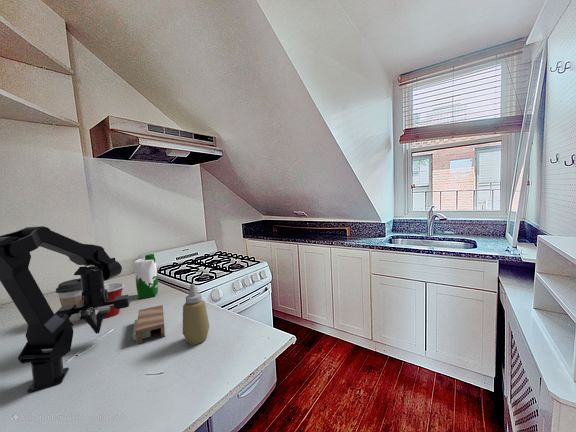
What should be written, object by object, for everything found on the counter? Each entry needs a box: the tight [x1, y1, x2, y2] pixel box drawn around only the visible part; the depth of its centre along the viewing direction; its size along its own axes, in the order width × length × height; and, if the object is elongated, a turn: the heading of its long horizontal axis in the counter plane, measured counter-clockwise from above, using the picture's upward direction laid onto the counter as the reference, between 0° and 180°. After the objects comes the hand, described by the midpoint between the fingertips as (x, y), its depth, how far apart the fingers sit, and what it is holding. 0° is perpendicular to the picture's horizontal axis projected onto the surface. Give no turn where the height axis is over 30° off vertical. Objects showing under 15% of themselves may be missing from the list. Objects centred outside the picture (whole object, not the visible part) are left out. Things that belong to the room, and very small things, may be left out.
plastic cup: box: [103, 282, 125, 319], centre depth 104 cm, size 11×11×12 cm
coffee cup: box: [55, 277, 83, 323], centre depth 103 cm, size 11×11×15 cm
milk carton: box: [133, 253, 159, 300], centre depth 124 cm, size 9×9×20 cm
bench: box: [136, 304, 166, 345], centre depth 90 cm, size 18×8×5 cm, turn 27°
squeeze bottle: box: [182, 283, 210, 345], centre depth 80 cm, size 8×8×18 cm
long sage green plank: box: [132, 319, 152, 342], centre depth 89 cm, size 12×5×3 cm, turn 28°
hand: (97, 332), depth 82 cm, fingers closed
